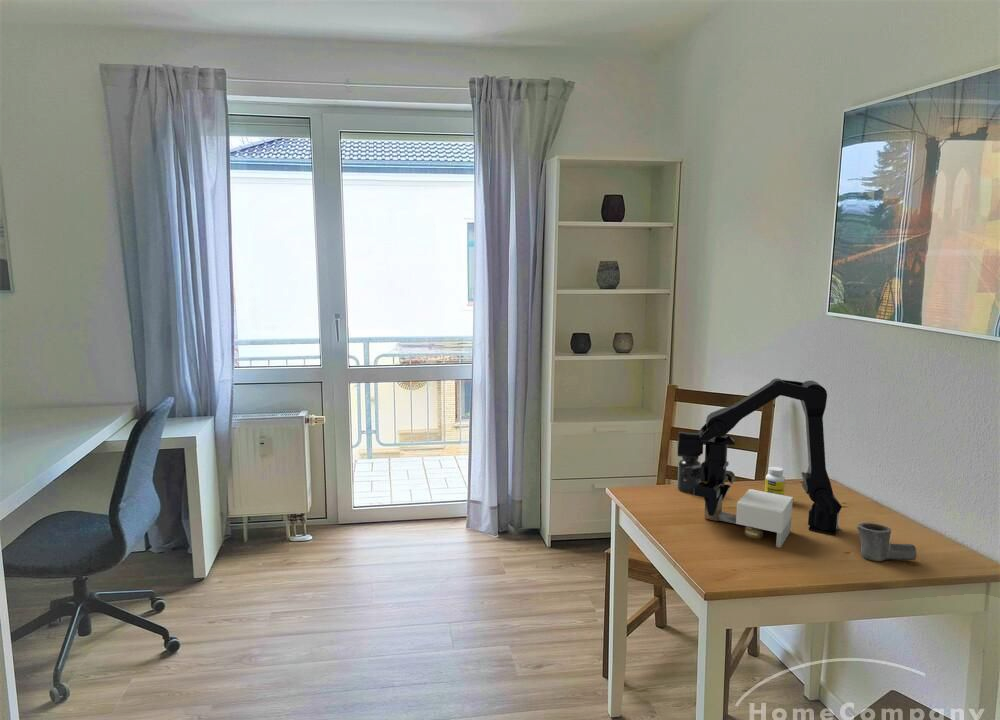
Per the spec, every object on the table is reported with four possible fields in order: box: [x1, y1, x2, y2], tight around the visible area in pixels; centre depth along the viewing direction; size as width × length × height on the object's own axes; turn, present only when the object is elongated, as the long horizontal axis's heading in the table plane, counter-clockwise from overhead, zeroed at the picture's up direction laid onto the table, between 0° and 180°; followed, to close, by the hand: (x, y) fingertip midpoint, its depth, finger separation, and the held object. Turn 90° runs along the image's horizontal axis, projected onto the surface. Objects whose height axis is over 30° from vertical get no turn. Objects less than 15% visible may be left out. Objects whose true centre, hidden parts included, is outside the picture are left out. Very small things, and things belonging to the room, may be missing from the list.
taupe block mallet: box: [704, 497, 746, 527], centre depth 179 cm, size 16×4×6 cm, turn 56°
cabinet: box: [735, 488, 794, 549], centre depth 172 cm, size 11×13×10 cm
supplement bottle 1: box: [677, 456, 702, 493], centre depth 206 cm, size 7×7×12 cm
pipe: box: [856, 522, 918, 562], centre depth 158 cm, size 6×13×8 cm, turn 78°
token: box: [744, 526, 764, 539], centre depth 172 cm, size 4×4×2 cm
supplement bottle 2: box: [764, 466, 786, 496], centre depth 198 cm, size 5×5×10 cm
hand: (713, 513), depth 183 cm, fingers closed on taupe block mallet, 4 cm apart
